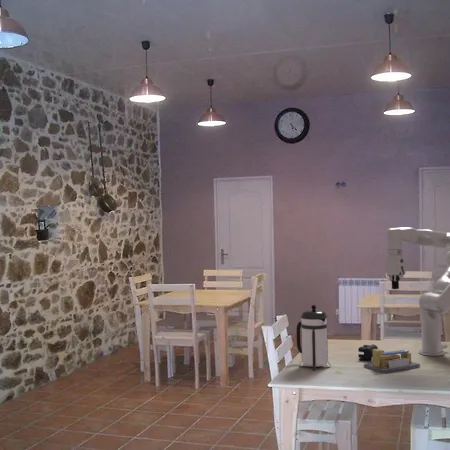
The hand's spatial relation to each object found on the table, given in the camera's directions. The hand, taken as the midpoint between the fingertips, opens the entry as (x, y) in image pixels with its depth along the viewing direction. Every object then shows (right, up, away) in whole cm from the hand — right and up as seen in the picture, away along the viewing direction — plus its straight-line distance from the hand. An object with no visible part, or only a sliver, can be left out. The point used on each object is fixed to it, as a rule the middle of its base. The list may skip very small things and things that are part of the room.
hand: (395, 288), depth 315 cm
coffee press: (-44, -37, -14) cm, 59 cm away
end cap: (-14, -36, 0) cm, 38 cm away
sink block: (-7, -36, -18) cm, 40 cm away
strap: (-5, -29, -17) cm, 34 cm away
